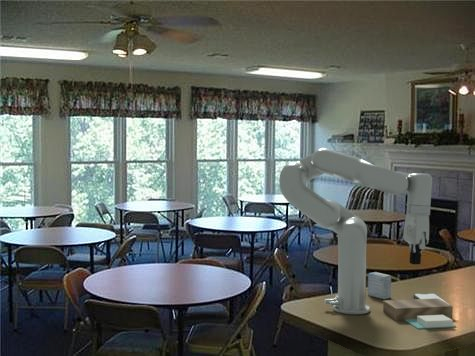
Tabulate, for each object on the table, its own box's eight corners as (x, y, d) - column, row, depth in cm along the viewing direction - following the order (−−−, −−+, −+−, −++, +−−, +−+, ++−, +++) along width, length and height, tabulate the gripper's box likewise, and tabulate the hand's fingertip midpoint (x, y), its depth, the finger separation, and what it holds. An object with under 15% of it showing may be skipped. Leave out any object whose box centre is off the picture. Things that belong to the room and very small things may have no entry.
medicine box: (391, 298, 214) (391, 275, 214) (383, 299, 212) (383, 276, 211) (375, 293, 221) (375, 271, 220) (367, 295, 218) (367, 273, 218)
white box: (417, 315, 183) (416, 321, 183) (426, 321, 177) (425, 327, 177) (442, 314, 184) (442, 320, 184) (452, 320, 178) (452, 326, 178)
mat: (417, 329, 177) (417, 327, 177) (404, 320, 186) (404, 319, 186) (456, 327, 179) (456, 325, 179) (441, 318, 188) (441, 317, 188)
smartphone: (452, 310, 201) (434, 297, 217) (452, 305, 201) (434, 293, 217) (428, 310, 200) (412, 297, 216) (428, 305, 200) (412, 293, 216)
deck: (395, 320, 186) (395, 308, 185) (383, 312, 196) (383, 300, 195) (452, 318, 189) (452, 306, 189) (437, 309, 199) (437, 298, 198)
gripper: (398, 207, 198) (395, 259, 199) (418, 212, 183) (414, 268, 184) (418, 207, 199) (415, 259, 200) (439, 213, 184) (436, 268, 185)
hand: (414, 263), depth 192 cm, fingers closed
